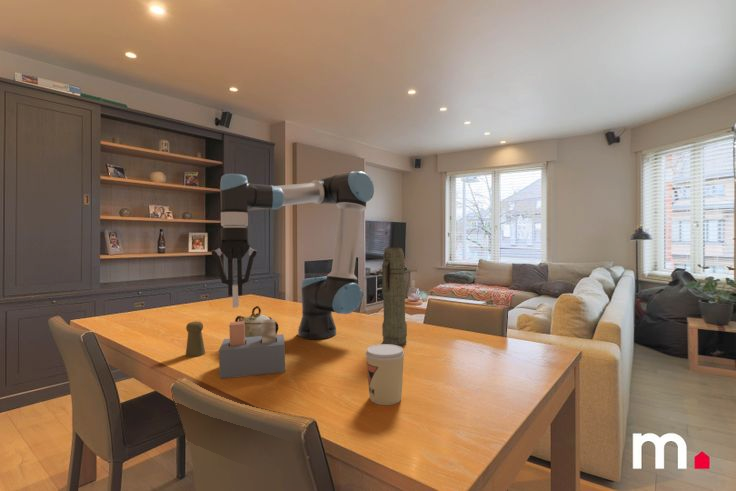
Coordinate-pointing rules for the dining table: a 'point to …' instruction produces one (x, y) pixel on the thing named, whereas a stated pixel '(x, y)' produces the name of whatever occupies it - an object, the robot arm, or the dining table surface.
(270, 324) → the cream peg
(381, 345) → the cream lidded canister
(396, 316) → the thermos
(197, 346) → the green pepper mill
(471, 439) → the dining table surface
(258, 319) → the sugar bowl
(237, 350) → the socket block
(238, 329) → the terracotta peg
